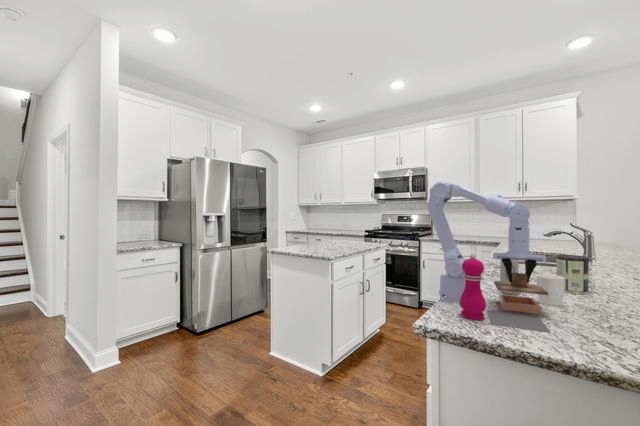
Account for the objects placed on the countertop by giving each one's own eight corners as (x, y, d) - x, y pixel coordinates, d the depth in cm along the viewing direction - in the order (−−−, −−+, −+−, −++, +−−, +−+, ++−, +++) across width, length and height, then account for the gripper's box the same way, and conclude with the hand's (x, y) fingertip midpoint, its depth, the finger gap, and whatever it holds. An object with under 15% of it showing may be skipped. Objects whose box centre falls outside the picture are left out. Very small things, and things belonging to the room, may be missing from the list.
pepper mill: (475, 324, 87) (476, 256, 87) (454, 316, 93) (454, 253, 93) (491, 320, 90) (491, 254, 90) (469, 312, 97) (469, 251, 96)
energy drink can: (501, 294, 117) (501, 256, 117) (498, 290, 122) (499, 254, 122) (519, 296, 114) (520, 257, 114) (516, 292, 120) (516, 255, 120)
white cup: (569, 308, 100) (570, 279, 100) (543, 307, 102) (543, 278, 102) (556, 301, 108) (556, 274, 108) (532, 300, 109) (532, 273, 109)
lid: (498, 290, 95) (498, 275, 95) (493, 282, 107) (494, 269, 107) (548, 295, 90) (548, 279, 90) (537, 287, 101) (537, 272, 102)
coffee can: (573, 287, 127) (574, 254, 127) (595, 294, 117) (596, 258, 117) (549, 287, 127) (549, 254, 127) (569, 294, 117) (569, 258, 117)
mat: (490, 326, 85) (490, 324, 85) (486, 311, 98) (486, 309, 98) (551, 335, 80) (551, 332, 80) (538, 317, 92) (538, 315, 92)
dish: (503, 311, 98) (503, 302, 98) (499, 302, 107) (499, 294, 107) (540, 315, 94) (540, 306, 94) (532, 306, 103) (533, 297, 103)
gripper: (494, 241, 98) (494, 282, 98) (548, 243, 92) (548, 287, 92) (492, 239, 104) (492, 277, 105) (543, 241, 98) (542, 282, 98)
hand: (518, 282), depth 99 cm, fingers closed on lid, 4 cm apart
